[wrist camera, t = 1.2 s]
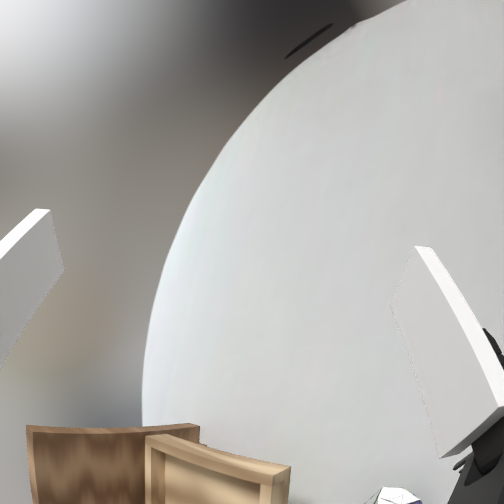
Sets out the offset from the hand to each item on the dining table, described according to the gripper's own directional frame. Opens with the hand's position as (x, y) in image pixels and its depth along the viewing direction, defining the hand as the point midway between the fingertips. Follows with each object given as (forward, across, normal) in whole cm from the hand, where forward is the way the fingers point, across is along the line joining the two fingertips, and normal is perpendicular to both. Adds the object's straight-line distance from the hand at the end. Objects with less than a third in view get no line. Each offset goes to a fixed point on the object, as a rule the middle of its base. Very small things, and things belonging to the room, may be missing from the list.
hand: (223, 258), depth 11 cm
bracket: (+1, +3, -34) cm, 34 cm away
